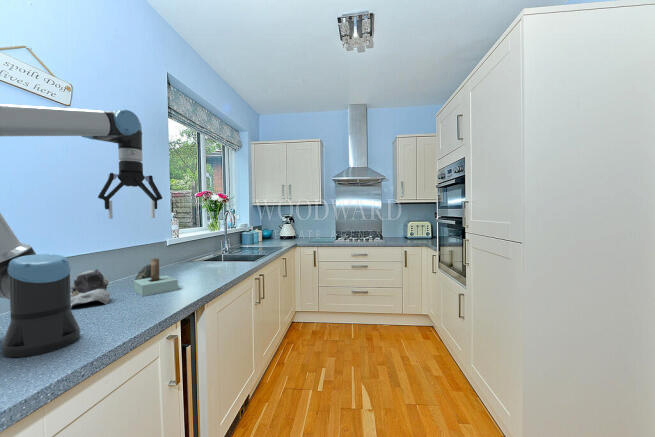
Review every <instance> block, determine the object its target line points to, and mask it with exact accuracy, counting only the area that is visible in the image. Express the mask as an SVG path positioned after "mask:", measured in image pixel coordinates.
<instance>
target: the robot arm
mask: <svg viewBox="0 0 655 437" xmlns="http://www.w3.org/2000/svg"><path fill="white" fill-rule="evenodd" d="M0 137H81V138H85V139H89V140H93V141H102V142H106V143H107V142H108V143H112V144H117V146H118V148H117V149H118V161H119V162H118V174H117V173H113V172H110V173H108V175H107V176H108V177H107V181H105V184H103V185H104V186H103V187H102V189H101V190H100V192H99V194H98V195H97V198H98V199H99V200H103V201H104V202H103V203H104V209H105V210H107V211H108V219H109V220H110V219H111V220H113V219H114V218H113V215H114V214H113V200H111V198H112V197H113V196H115V194H117V192H118V191H120V190H121V189H122V187H124V186H125V187H132V188H133V187H135V188H137V187H138V188H140V190H142V191H143V192H144V193H145V194H146V196H148V197H149V199H151V200H150V201H149V207H150V218H152V219H155V218H156V213H155V212H156V211H155V210H158V201H160V200H162V199H163V196H162V194H161V192H160V191H159V188H158V187H157V186H156V184H155V182H154V177H153V176H152V175H145V174H144V173H143V172H144V170H143V169H144V164H143V130H142V123H141V122H140V119H139V117H138V116H137V115H136V114H135V112H133V111H131V110H129V109H117V110H115V111H113V110H112V111H110V110H97V109H96V110H95V109H82V108H68V107H67V108H66V107H65V108H64V107H52V106H51V107H48V106H35V105H34V106H33V105H19V104H1V103H0ZM116 179H118V180H119V181H120V182H119V183H118V184H117V185H116V186H115V187H114V188H113V189H112V190H111V191H110V192H109V193H107V192H108V190H109V188H110V187H111V184H112V183H113V181H115V180H116ZM144 180H145V181H146V182H147V183H148V185H149V186H150V188H151V190H152V191H151V190H150V189H149V188H148V187H147V186H146V184H144V183H143V181H144ZM106 193H107V195H106ZM105 195H106V196H105ZM70 288H71V266H70V261H69V259H68V258H67V257H66V256H64V255H61V254H47V253H40V254H37V253H36V251H35V250H34V249H33V247H32V246H31V245H30V244H26V243H22V242H21V241H20V240H19V238H18V237H17V235H16V234H15V232H14V231H13V230H12V228H11V226H10V225H9V224H8V222H7V220H6V219H5V217H4V216H3V215H2V213H1V212H0V298H2V299H5V300H6V299H7V300H9V307H10V308H9V309H10V310H9V314H10V323H9V325H8V327H7V330H6V333H5V336H4V338H3V341H2V343H1V355H2V356H3V357H6V358H24V357H30V356H36V355H41V354H45V353H49V352H52V351H55V350H59V349H61V348H63V347H66V346H69V345H70V344H74V343H75V342H76V341H77V340H79V338H80V337H81V328H80V326H79V324H78V322H77V320H76V318H75V316H74V314H73V311H72V308H71V298H72V297H71V292H70Z"/></svg>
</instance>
